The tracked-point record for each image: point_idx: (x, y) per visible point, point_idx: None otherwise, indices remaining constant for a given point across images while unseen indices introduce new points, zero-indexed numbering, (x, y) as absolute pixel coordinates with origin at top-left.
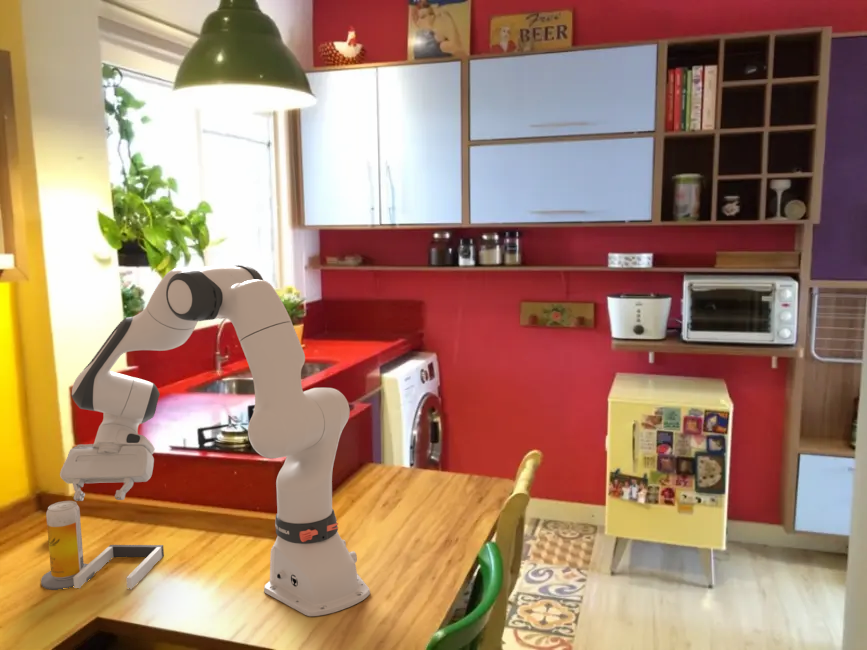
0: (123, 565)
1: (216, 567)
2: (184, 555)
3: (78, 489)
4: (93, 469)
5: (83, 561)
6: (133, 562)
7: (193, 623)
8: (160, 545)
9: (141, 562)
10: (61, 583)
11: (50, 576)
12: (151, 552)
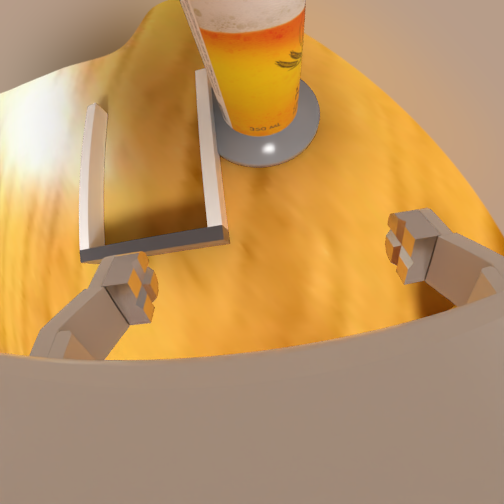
0: (162, 196)
1: (10, 233)
2: (63, 273)
3: (449, 255)
4: (455, 402)
5: (223, 114)
6: (147, 216)
7: (20, 94)
8: (85, 259)
9: (89, 163)
10: None
11: None
12: (88, 216)
